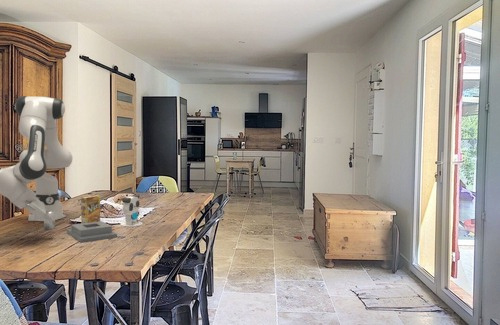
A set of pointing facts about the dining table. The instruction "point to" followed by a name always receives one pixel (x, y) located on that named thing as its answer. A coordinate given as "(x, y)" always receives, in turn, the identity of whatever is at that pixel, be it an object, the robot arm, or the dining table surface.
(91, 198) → the candy box
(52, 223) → the metal pin
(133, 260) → the dining table surface
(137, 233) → the dining table surface
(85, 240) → the socket housing
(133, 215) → the panda figurine
